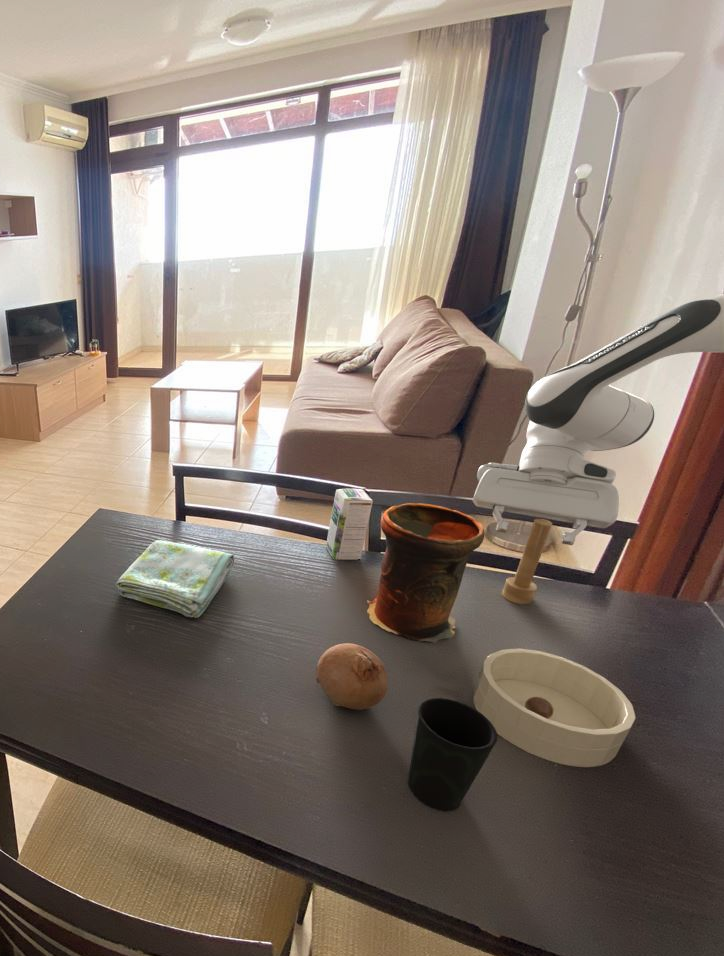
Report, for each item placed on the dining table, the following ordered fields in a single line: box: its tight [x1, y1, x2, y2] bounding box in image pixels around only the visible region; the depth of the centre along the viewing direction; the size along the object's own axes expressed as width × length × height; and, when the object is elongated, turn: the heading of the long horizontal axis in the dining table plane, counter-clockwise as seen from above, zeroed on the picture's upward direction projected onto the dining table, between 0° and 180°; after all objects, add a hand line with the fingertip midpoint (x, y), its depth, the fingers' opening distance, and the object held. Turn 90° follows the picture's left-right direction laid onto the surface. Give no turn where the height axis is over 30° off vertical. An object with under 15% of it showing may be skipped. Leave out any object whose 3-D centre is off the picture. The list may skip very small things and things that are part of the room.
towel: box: [115, 539, 235, 619], centre depth 111 cm, size 18×21×5 cm
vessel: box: [366, 502, 486, 643], centre depth 93 cm, size 14×14×20 cm
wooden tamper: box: [501, 518, 553, 605], centre depth 97 cm, size 4×4×16 cm
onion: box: [315, 642, 389, 711], centre depth 80 cm, size 10×9×10 cm
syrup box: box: [325, 488, 374, 561], centre depth 115 cm, size 6×6×14 cm
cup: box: [407, 697, 498, 812], centre depth 65 cm, size 8×8×12 cm
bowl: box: [472, 648, 637, 768], centre depth 75 cm, size 16×16×6 cm
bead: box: [525, 697, 554, 719], centre depth 75 cm, size 3×3×3 cm
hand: (533, 537), depth 99 cm, fingers open, 8 cm apart
